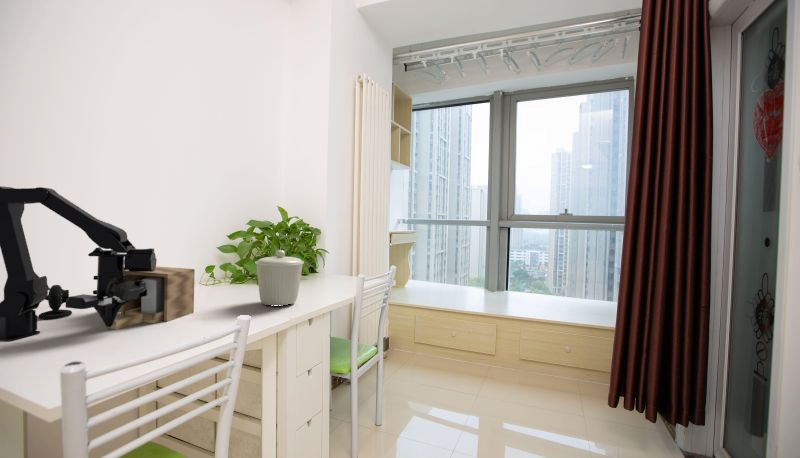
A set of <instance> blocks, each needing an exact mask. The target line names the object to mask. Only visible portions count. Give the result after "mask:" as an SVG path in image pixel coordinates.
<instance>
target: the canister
mask: <svg viewBox="0 0 800 458" xmlns="http://www.w3.org/2000/svg"><path fill="white" fill-rule="evenodd" d="M254 263H255V265H256V273H257V283H258V292H259V299H260V301H261V304H262V305H264V304H265V305H264V306H266V305H273V306H274V305H278V306H279V305H288V304H291V305H293V304H295V302H296V301H297V300H298V295H299V290H300V285H301V284H300V283H301V278H302V277H301V276H302V272H303V271H302V270H303V265H304V263H305V262H304V260H302V259H300V258H298V257H295V256H286V252H285V251H284V250H283V249H278V250H276V251H275V256H267V257H266V256H265V257H262V258H259V259H258V260H256V261H255V262H254ZM292 303H293V304H292ZM288 306H289V305H288Z"/></svg>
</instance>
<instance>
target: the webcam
mask: <svg viewBox="0 0 800 458" xmlns="http://www.w3.org/2000/svg"><path fill="white" fill-rule="evenodd" d="M49 288H50V290H48V295H47V297H46V298H45V299H44V300H43V301H47V302H48V306H49V308H50V309H51V310H46V311H43V312H41V313H39V314H38V315H37V318H38V319H40V320H47V321H48V319H49V320H57V319H63V318H66V317H67V318H68V317H69V316H71V315H72V314H73V312H72V310H70V309H62V308H61V307H62V305H63V304H66V300H67V299H68V298H69V297H70V291H69V289H63V288H62V286H61V285H60V284H53V285H51V287H49ZM60 308H61V309H60Z"/></svg>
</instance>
